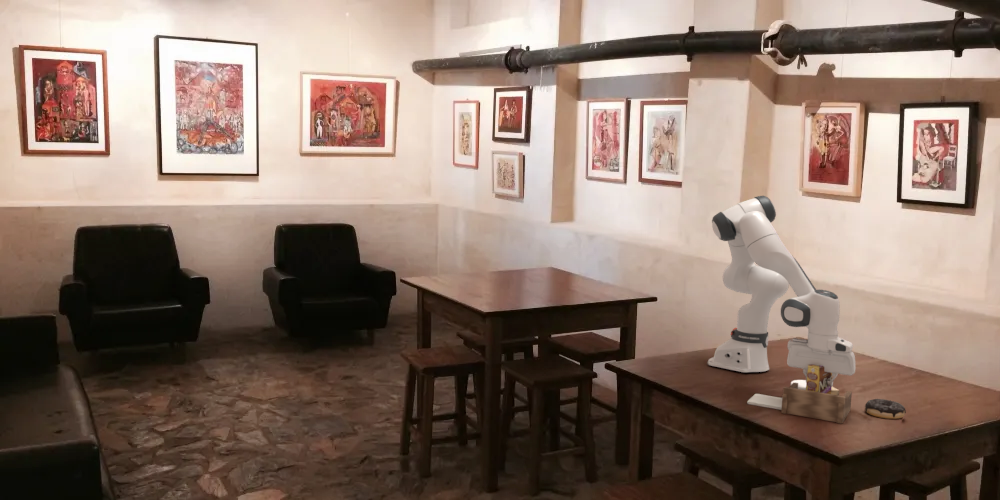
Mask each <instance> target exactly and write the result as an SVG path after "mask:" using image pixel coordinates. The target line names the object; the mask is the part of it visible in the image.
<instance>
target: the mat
mask: <svg viewBox="0 0 1000 500" xmlns="http://www.w3.org/2000/svg"><path fill="white" fill-rule="evenodd" d="M746 404H747V405H750V406H751V405H752V406H758V407H763V408H770V409H774V410H775V409H776V410H780V411H781V410H782V397H778V396H771V395H766V394H762V393H761V394H760V393H755V394H754V395H753V396H751V397H750V398H749V399H748V400H747V402H746Z"/></svg>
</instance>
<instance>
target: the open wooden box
mask: <svg viewBox="0 0 1000 500" xmlns="http://www.w3.org/2000/svg"><path fill="white" fill-rule="evenodd" d="M782 391H783V392H782V397H781V398H782V410H780V411H781V412H780V413H781V414H785V415H787V414H788V415H795V416H799V417H805V418H812V419H816V420H823V421H829V422H834V423H835V422H836V423H837V424H840V425H843V424H844V422H845V421H846V419H847V417H848V415H849V413H850V411H851V409H852V408H851V406H852V395H853V392H852V391H849V390H846V391H845V393H844V395H840V394H839V395H833V394H827V393H820V392H814V391H808V390H802V389H798V383H793V384H792V385H791V384H790V386H789V387H788V386H783V389H782Z"/></svg>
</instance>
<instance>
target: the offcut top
mask: <svg viewBox="0 0 1000 500" xmlns="http://www.w3.org/2000/svg"><path fill="white" fill-rule="evenodd" d="M840 392H841V391H840V389H837V388H836V387H834V386H832V387H831V394H833V395H839V396H840Z"/></svg>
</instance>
